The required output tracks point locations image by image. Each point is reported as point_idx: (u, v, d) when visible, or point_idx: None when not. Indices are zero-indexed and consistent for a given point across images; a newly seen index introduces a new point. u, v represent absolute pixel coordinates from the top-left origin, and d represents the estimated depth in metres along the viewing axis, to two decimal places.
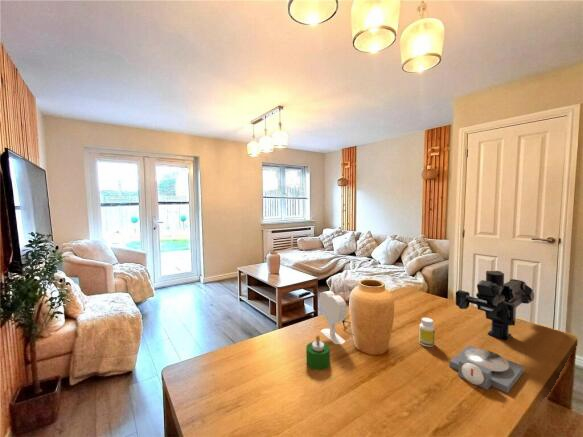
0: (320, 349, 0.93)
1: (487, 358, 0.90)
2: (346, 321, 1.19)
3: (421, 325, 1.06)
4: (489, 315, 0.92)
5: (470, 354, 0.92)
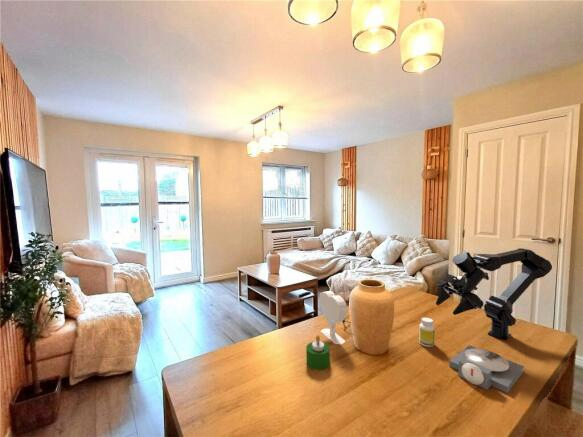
0: (320, 349, 0.93)
1: (487, 358, 0.90)
2: (346, 321, 1.19)
3: (421, 325, 1.06)
4: (454, 313, 1.02)
5: (470, 354, 0.92)
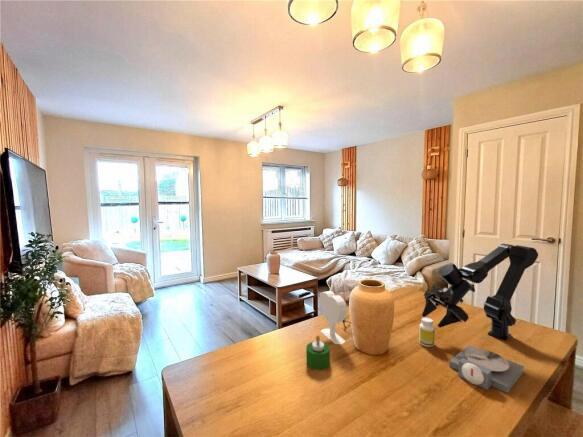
0: (320, 349, 0.93)
1: (487, 358, 0.90)
2: (346, 321, 1.19)
3: (421, 325, 1.06)
4: (439, 326, 1.01)
5: (470, 354, 0.92)
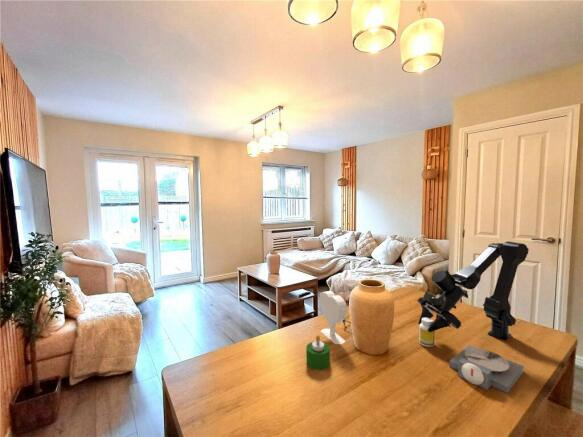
0: (320, 349, 0.93)
1: (487, 358, 0.90)
2: (346, 321, 1.19)
3: (421, 325, 1.06)
4: (429, 330, 1.02)
5: (470, 354, 0.92)
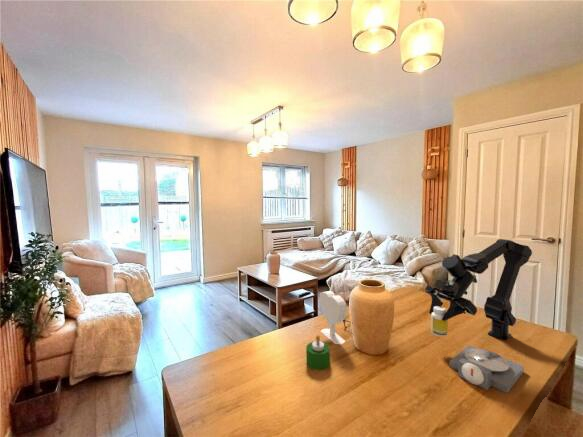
0: (320, 349, 0.93)
1: (487, 358, 0.90)
2: None
3: (434, 314, 1.00)
4: (443, 319, 0.97)
5: (470, 354, 0.92)
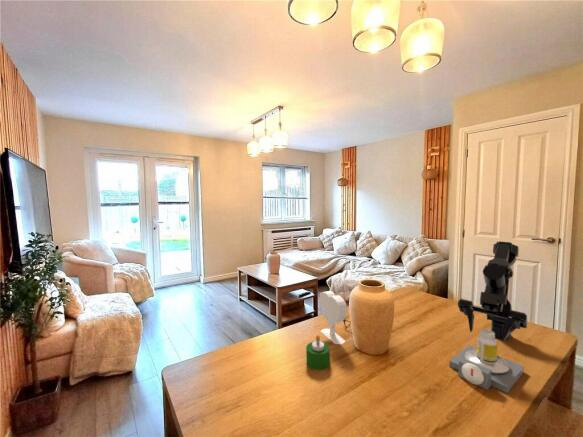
0: (320, 349, 0.93)
1: None
2: None
3: (484, 340, 0.88)
4: (503, 340, 0.85)
5: (470, 356, 0.92)
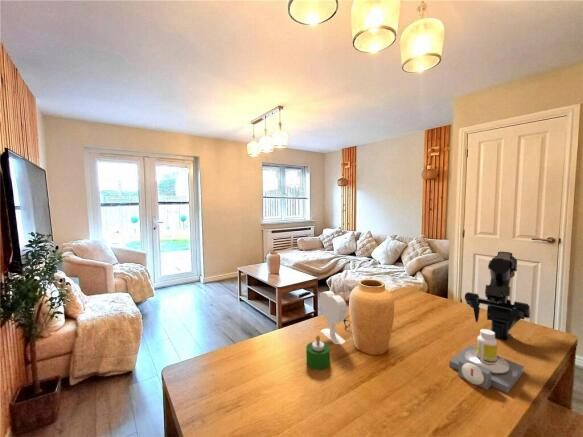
0: (320, 349, 0.93)
1: None
2: (347, 320, 1.20)
3: (484, 340, 0.88)
4: (509, 329, 0.91)
5: (470, 356, 0.92)
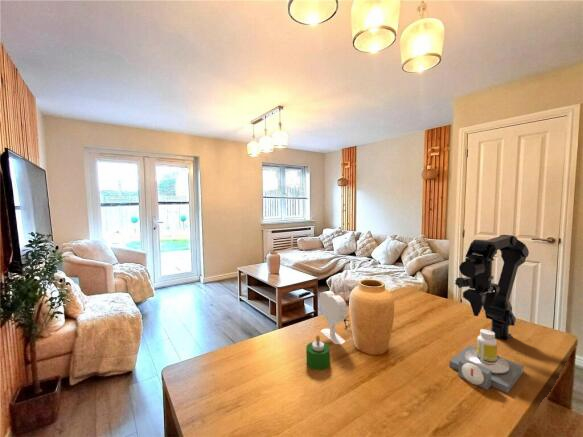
0: (320, 349, 0.93)
1: None
2: (347, 320, 1.20)
3: (484, 340, 0.88)
4: (475, 315, 1.01)
5: (470, 356, 0.92)
